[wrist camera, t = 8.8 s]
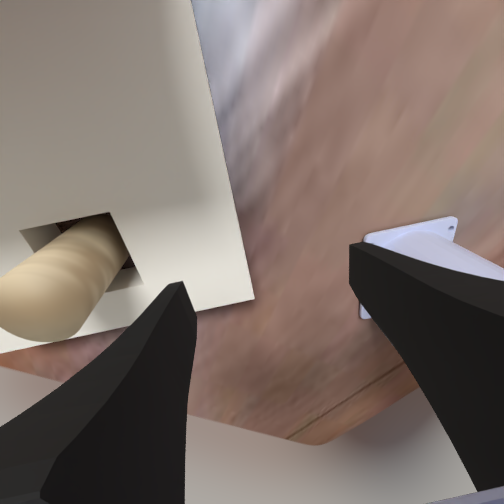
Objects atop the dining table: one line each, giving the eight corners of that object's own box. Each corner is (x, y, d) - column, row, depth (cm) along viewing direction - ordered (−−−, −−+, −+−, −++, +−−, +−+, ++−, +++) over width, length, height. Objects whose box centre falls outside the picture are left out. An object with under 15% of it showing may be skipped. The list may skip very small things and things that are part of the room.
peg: (142, 256, 19) (98, 332, 12) (92, 266, 19) (19, 349, 12) (120, 208, 18) (55, 266, 11) (65, 219, 17) (-39, 286, 10)
